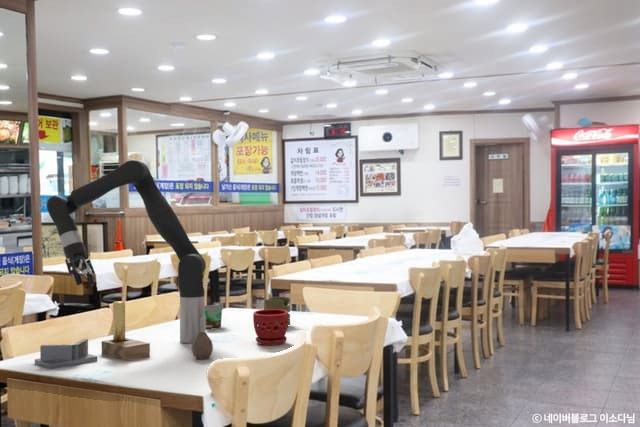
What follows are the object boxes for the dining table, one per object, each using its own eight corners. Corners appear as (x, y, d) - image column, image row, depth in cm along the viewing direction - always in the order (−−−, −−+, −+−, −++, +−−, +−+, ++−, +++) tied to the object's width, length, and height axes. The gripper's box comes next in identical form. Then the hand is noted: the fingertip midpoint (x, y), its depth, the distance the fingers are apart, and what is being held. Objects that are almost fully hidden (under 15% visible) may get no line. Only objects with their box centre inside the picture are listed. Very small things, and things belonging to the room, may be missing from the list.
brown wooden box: (101, 354, 234) (101, 341, 234) (124, 350, 240) (124, 337, 240) (126, 360, 223) (126, 347, 223) (149, 356, 229) (149, 343, 229)
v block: (98, 361, 223) (98, 341, 223) (50, 369, 211) (50, 348, 211) (81, 356, 231) (81, 337, 231) (34, 364, 219) (34, 344, 219)
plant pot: (248, 341, 255) (248, 310, 255) (281, 339, 261) (281, 308, 261) (259, 347, 243) (259, 314, 243) (293, 345, 249) (293, 312, 249)
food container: (217, 330, 282) (217, 306, 282) (203, 329, 283) (203, 305, 283) (227, 325, 294) (227, 302, 294) (214, 325, 295) (214, 302, 295)
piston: (258, 299, 289) (274, 296, 299) (258, 326, 289) (274, 323, 299) (279, 300, 283) (295, 297, 293) (279, 329, 283) (295, 325, 293)
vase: (203, 361, 222) (203, 334, 222) (187, 359, 225) (187, 332, 225) (217, 357, 227) (216, 331, 227) (201, 355, 231) (201, 329, 231)
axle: (126, 352, 236) (126, 301, 236) (123, 354, 232) (123, 302, 232) (115, 352, 236) (114, 301, 236) (112, 355, 232) (111, 302, 232)
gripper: (71, 239, 246) (85, 280, 243) (91, 243, 260) (104, 281, 256) (53, 247, 247) (67, 288, 243) (74, 251, 261) (87, 289, 257)
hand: (86, 285), depth 250 cm, fingers open, 8 cm apart
